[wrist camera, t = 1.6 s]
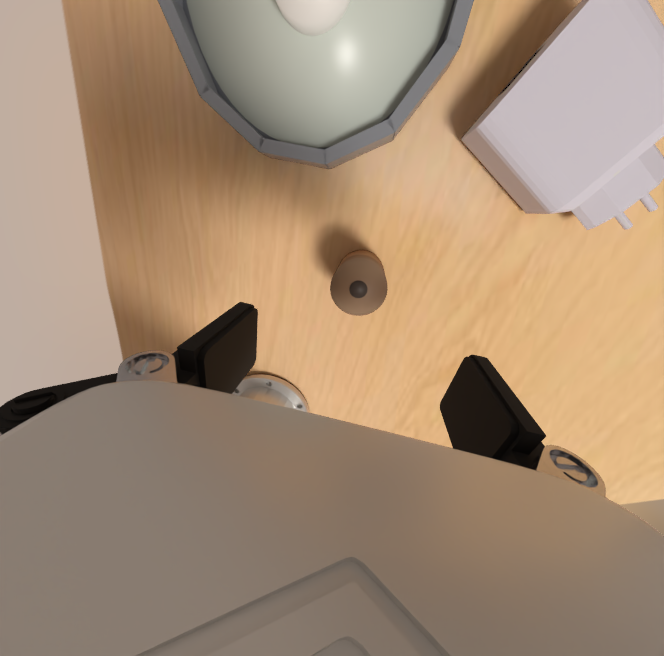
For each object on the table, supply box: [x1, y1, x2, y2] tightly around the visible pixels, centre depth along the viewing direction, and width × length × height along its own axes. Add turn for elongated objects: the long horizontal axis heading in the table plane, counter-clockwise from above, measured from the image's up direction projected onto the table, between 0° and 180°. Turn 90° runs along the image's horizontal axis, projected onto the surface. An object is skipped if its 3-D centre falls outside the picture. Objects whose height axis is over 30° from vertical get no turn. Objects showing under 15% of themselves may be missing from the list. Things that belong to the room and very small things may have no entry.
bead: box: [330, 250, 387, 316], centre depth 24 cm, size 5×5×6 cm
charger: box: [461, 0, 664, 230], centre depth 18 cm, size 5×9×15 cm
